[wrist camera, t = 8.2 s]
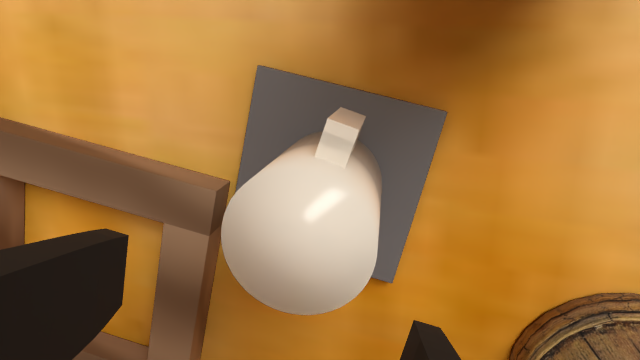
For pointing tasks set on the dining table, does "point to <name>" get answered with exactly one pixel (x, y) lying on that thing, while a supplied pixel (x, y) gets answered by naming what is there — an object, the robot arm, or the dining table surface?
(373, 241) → the jug
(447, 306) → the dining table surface
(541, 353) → the wooden mug
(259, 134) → the mat
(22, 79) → the dining table surface
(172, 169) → the jug holder
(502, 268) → the dining table surface
